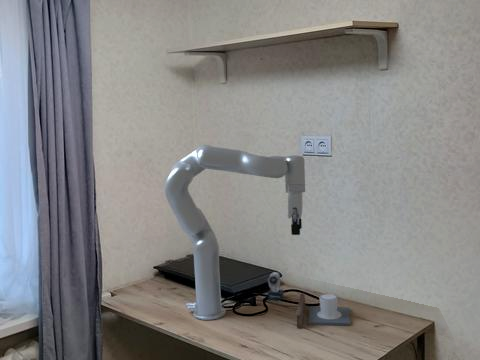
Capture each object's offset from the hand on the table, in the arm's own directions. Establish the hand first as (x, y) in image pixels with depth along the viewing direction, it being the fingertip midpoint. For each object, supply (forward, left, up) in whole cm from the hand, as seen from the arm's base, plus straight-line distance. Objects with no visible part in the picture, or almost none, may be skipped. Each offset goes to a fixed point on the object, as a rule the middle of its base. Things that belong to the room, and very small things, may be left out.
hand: (296, 231), depth 209 cm
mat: (+12, -10, -30) cm, 34 cm away
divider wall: (+2, -10, -30) cm, 32 cm away
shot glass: (+12, -10, -29) cm, 33 cm away
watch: (-10, +8, -31) cm, 33 cm away
